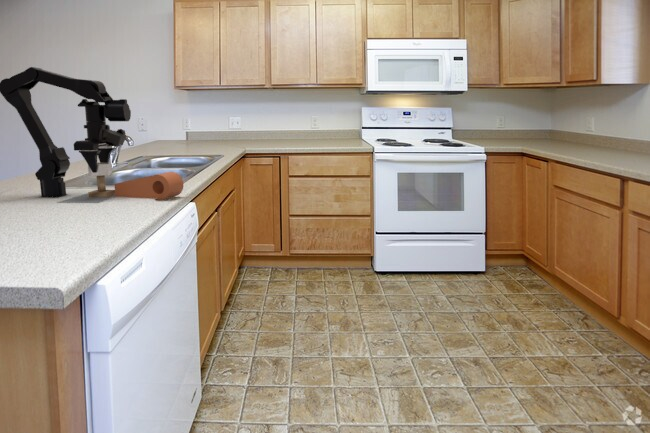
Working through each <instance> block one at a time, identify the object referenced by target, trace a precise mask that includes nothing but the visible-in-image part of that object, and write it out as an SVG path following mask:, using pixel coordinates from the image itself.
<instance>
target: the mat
mask: <svg viewBox="0 0 650 433" xmlns="http://www.w3.org/2000/svg"><path fill="white" fill-rule="evenodd" d="M117 197H118V196H115V195H112V196H109V197H89V196H88V193H84V194H81V195H77V196H73V197H70V198H67V199H64V200H61V201H57V202H56V203H59V204H62V203H63V204H64V203H65V204H100V203H102V202H105V201H108V200H111V199H114V198H117Z"/></svg>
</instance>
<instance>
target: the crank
mask: <svg viewBox="0 0 650 433" xmlns="http://www.w3.org/2000/svg"><path fill="white" fill-rule="evenodd" d="M113 185H114V190H115V196H117V197H121V198H122V197H123V198H138V199H139V198H140V199H143V198H144V199H154V200H155V201H163V200H167V199H170V198H173V197H176V196H177V197H178V196H179V195H180V194H181V193H182V191H183V190H184V180H183V179H182V177H181V175H180V174H179V173H178V172H174V171H168V172H163V173H159V174H154V175H149V176H144V177H140V178H134V179H130V180H125V181H121V182H116V183H114V184H113Z"/></svg>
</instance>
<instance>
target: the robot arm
mask: <svg viewBox="0 0 650 433" xmlns="http://www.w3.org/2000/svg"><path fill="white" fill-rule="evenodd" d="M38 83H42V84H47V85H51V86H55V87H58V88H61V89H65V90H68V91H71V92H73V93H74V94H77V95H79V96H80V97H83V98H82V99H81V101H80V102H79V103H77V107H78V108H82V107H84V109H85V110H84V111H85V112H84V113H85V122H86V123H85V124H83V129H86V136H87V137H86V138H84V139H82V140H75V142H74V143H73V150H74V151H78V153H80V154H81V156H82V157H83V159H84V160H85V162H86V163H87V166H88V165H89V167H90V169H91V170H92V172H93V173H96V172H97V163H98V160H99V162H109V163H110V158H111V154H112V153H113V152H114V151H115V150H117V147H121V146H123V145H124V142H125V141H126V140H127V139H128V138H127V134H126V130H124V129H121V128H120V129H117V130H112V129H110V128H111V127H110V125H109V124H107V121H106V119H107V120H108V121H109V122H129V121H130V120H131V117H132V116H131V115H132V111H131V109H130V105H129V103H128V100H127V99H123V98H121V99H120V98H119V99H113V98H112V96H111V95H110V93H108V91H107V88H106V86H105V83H103V82H102V81H100V80H91V79H80V78H74V77H71V76H68V75H63V74H61V73H57V72H52V71H49V70H46V69H43V68H40V67H36V66H34V67H33V66H31V67H30V66H29V67H28V68H26V69H25V70H24V71H21V72H19V73H16V74H15V75H12V76H10V77H9V78H7V77H6V78H3V79H2V80H1V81H0V94H1V96H2V97H3V98H4V99H5V100H6V102H7V103H9V104H10V105H11V106H12V107H13V108H14V109H15V110H16V111H17V113H18V115H19V117H20V118H21V121H22V122H23V124H24V126H25V127H26V129H27V131H28V133H29V135H30V136H31V138H32V140H33V142H34V143H35V145H36V147H37V149H38V152H39V153H38V154H39V155H38V157H39V162H40V163H41V166H40V168H38V170H37V171H36V172H35V174H34V175H35V177H36V179H37V180H38V181H39V185H40V193H41V194H40V195H41V196H39V198H56V199H57V198H60V197H65V196H67V195H68V194H67V188H66V182H65V180H64V178H65V177H66V174H67V171H68V170H69V168H70V165H71V162H70V159H71V157H70V156H68V154H67V152H66V149H65V147H63V146H62V147H57V146H56V144H54V142H53V140H52V138H51V136H50V134H49V133H48V130H47V129H46V127H45V125H44V124H43V123H42V122H43V121H42V120H41V118H40V117H39V115H38V113H37V110H36V109H35V107H34V105H33V103H32V94H31V91H30V90H32V89H33V88H34V87H36V86H37V85H38ZM89 100H90V101H89ZM100 103H104V104H100Z"/></svg>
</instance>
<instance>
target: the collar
mask: <svg viewBox="0 0 650 433" xmlns="http://www.w3.org/2000/svg"><path fill="white" fill-rule="evenodd" d="M87 168H88V169H87V170H88V175H89V176H96V177H97V176H102V175H105V176H110V175H113V171H112V170H113V168H112V162H110V161H109V162H100V161H99V162H97V172H96V173H93V172H92V170H91V169H90V167H89V165H88V164H87Z"/></svg>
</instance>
